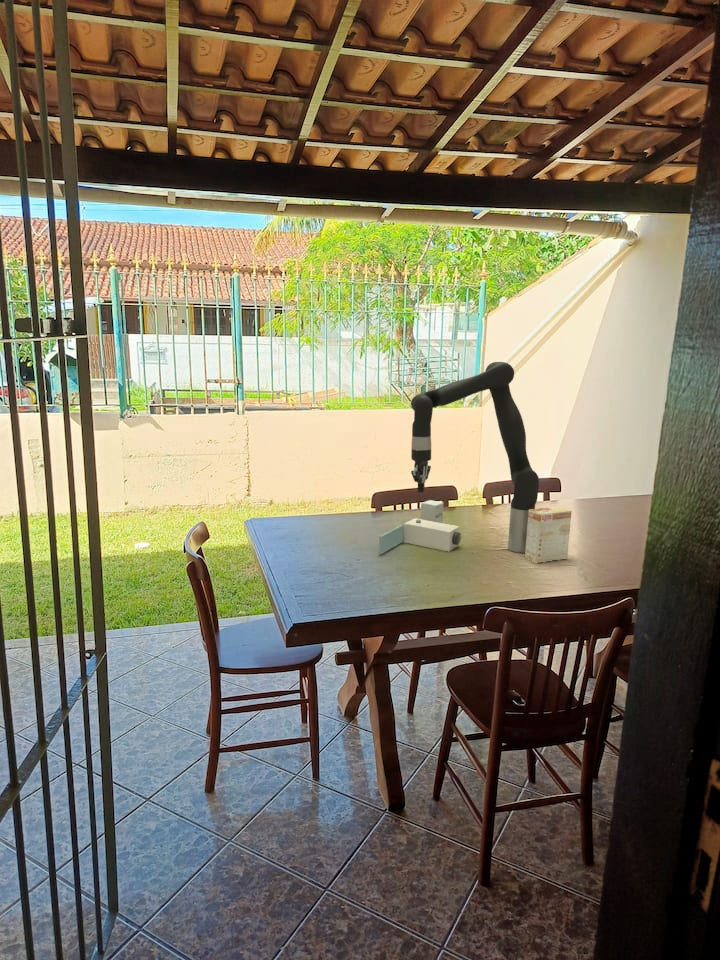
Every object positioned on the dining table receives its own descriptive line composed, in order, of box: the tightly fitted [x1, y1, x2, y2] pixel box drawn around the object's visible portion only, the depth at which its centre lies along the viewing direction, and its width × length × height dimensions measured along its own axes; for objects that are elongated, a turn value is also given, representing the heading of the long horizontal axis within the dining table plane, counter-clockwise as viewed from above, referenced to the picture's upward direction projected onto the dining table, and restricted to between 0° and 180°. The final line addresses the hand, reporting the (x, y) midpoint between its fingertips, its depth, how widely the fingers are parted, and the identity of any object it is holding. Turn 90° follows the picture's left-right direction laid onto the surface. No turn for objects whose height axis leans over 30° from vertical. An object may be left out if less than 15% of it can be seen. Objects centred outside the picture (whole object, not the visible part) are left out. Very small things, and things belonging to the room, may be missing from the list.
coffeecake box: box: [524, 505, 573, 564], centre depth 236 cm, size 15×7×20 cm, turn 111°
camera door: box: [378, 523, 405, 555], centre depth 245 cm, size 19×1×7 cm, turn 149°
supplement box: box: [419, 499, 444, 523], centre depth 270 cm, size 7×7×13 cm
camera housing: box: [403, 517, 462, 553], centre depth 252 cm, size 22×9×9 cm, turn 58°
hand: (421, 491), depth 240 cm, fingers closed
